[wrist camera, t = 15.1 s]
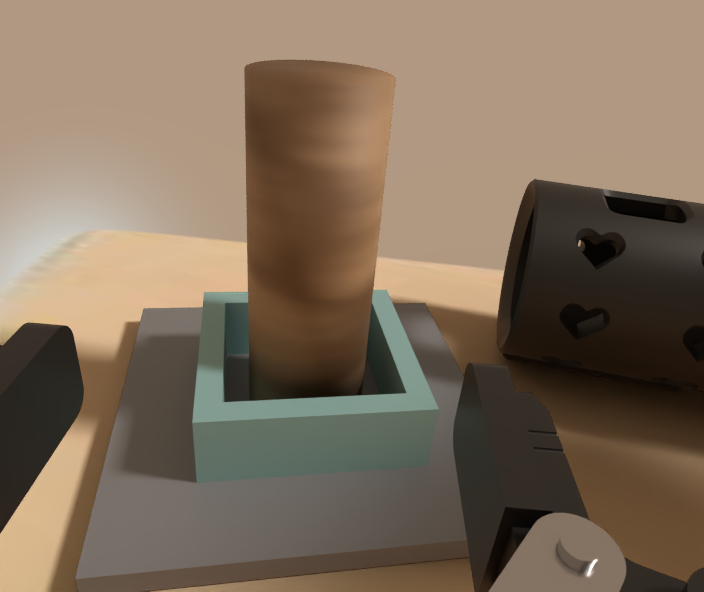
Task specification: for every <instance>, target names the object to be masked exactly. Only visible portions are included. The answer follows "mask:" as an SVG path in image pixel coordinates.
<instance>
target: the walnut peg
mask: <svg viewBox="0 0 704 592" xmlns="http://www.w3.org/2000/svg"><path fill="white" fill-rule="evenodd" d="M395 82H396V78H395V77H394V76H393V75H391V74H389V73H387V72H384V71H381V70H377V69H373V68H369V67H364V66H358V65H352V64H345V63H337V62H327V61H313V60H271V61H261V62H255V63H252V64H249V65H247V66H245V130H246V190H247V191H246V194H247V258H248V322H249V387H250V401H259V400H279V399H299V398H320V397H340V396H360V395H362V388H363V379H364V370H365V360H366V351H367V342H368V333H369V323H370V314H371V305H372V295H373V286H374V277H375V268H376V258H377V249H378V240H379V230H380V221H381V212H382V203H383V202H382V201H383V193H384V184H385V175H386V165H387V156H388V147H389V138H390V128H391V119H392V109H393V100H394V91H395Z"/></svg>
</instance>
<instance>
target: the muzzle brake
mask: <svg viewBox="0 0 704 592" xmlns="http://www.w3.org/2000/svg"><path fill="white" fill-rule="evenodd" d="M579 240H581V245H580V247H578V242H579ZM497 346H498V349H499V350H500V351H501V353H503V356H504V357H505V358H508V359H513V360H518V361H523V362H529V363H534V364H539V365H544V366H550V367H555V368H560V369H565V370H571V371H576V372H581V373H586V374H591V375H597V376H602V377H607V378H612V379H618V380H623V381H628V382H633V383H639V384H644V385H649V386H654V387H659V388H665V389H670V390H675V391H679V390H680V389H682V388H687V389H692V390H697V391H702V392H704V204H701V203H694V202H687V201H680V200H673V199H666V198H659V197H652V196H645V195H638V194H632V193H625V192H618V191H611V190H604V189H598V188H591V187H584V186H577V185H570V184H563V183H556V182H549V181H543V180H536V179H534V180H533V181H532V182H530V183H529V185H528V187H527V189H526V191H525V193H524V196H523V198H522V201H521V205H520V208H519V211H518V215H517V218H516V222H515V226H514V230H513V234H512V238H511V242H510V246H509V251H508V256H507V261H506V266H505V271H504V277H503V283H502V288H501V295H500V302H499V310H498V320H497Z"/></svg>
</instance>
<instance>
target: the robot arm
mask: <svg viewBox="0 0 704 592" xmlns="http://www.w3.org/2000/svg"><path fill="white" fill-rule="evenodd" d="M83 394H84V388H83V382H82V377H81V371H80V366H79V361H78V356H77V351H76V346H75V341H74V336H73V333H72V331H71V329H70V328H69V327H68V326H63V325H51V324H40V323H26V324H24V325H23V326H21V327H20V328H19V329H18V330H17V331H16V332H15V334H14V335H13V336H12V337H11V338H10V339H9V340H8V341H7V342H6V343H5V344H4V345H3V346H2V345H0V533H1V532H2V530H3V529H4V527H5V526H6V524H7V523H8V521H9V520H10V518H11V517H12V515H13V513H14V512H15V510H16V509H17V507H18V506H19V504H20V503H21V501H22V500H23V498H24V497H25V495H26V494H27V492H28V491H29V489H30V488H31V486H32V485H33V483H34V482H35V480H36V478H37V477H38V475H39V474H40V472H41V471H42V469H43V468H44V466H45V465H46V463H47V462H48V460H49V459H50V457H51V456H52V454H53V453H54V451H55V450H56V448H57V447H58V445H59V443H60V442H61V440H62V439H63V437H64V436H65V434H66V433H67V431H68V430H69V428H70V427H71V425H72V424H73V422H74V421H75V419H76V418H77V416H78V414H79V412H80V409H81V406H82V401H83ZM556 434H557V432H556V429H555V426H554V424H553V421H552V418H551V416H550V413H549V411H548V410H547V409H546V408H545V407H544V406H543V405H542V404H541V403H540V401H539V400H538V399H537V398H536V397H535V396H534V395H533V394H532V393H524V392H516V391H515V387H514V384H513V381H512V378H511V375H510V372H509V369H508V367H507V366H504V365H493V364H482V363H469V364H468V365H467V368H466V371H465V375H464V380H463V384H462V389H461V393H460V398H459V402H458V407H457V411H456V416H455V420H454V428H453V451H454V458H455V464H456V471H457V477H458V484H459V491H460V497H461V504H462V511H463V517H464V524H465V530H466V537H467V544H468V550H469V557H470V563H471V570H472V577H473V583H474V590H475V592H704V568H701V569H698V570H697V571H695V572H694V573H693V574H692V575H691V577H690V578H689V580H688V581H687V582H684V581H681V580H679V579H676V578H673V577H670V576H668V575H665V574H662V573H660V572H657V571H654V570H651V569H649V568H646V567H643V566H641V565H639V564H636V563H634V562H632V561H630V560H628V559H627V558H625V557H624V556H623V553H622V551H621V550H620V548H619V546H618V545H617V543H616V542H615V541H614V539H613V538H612V537H611V536H610V535H609V534H608V533H607V532H606V531H604V530H603V529H602V528H601V527H599V526H598V525H596V524H595V523H593V522H591V521H590V520H589V517H588V515H587V512H586V509H585V507H584V504H583V501H582V499H581V496H580V493H579V491H578V488H577V485H576V483H575V480H574V477H573V475H572V472H571V469H570V467H569V464H568V461H567V459H566V456H565V454H563V448H562V445H561V442H560V440H559V437H557V435H556Z"/></svg>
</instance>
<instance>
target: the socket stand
mask: <svg viewBox="0 0 704 592" xmlns="http://www.w3.org/2000/svg"><path fill="white" fill-rule="evenodd" d="M463 380H464V376H463V374H462V372H461V370H460V368H459V366H458V364H457V362H456V361H455V359H454V357H453V355H452V353H451V351H450V349H449V347H448V345H447V344H446V342H445V340H444V338H443V336H442V334H441V332H440V330H439V328H438V327H437V325H436V323H435V321H434V319H433V317H432V315H431V313H430V311H429V310H428V308H427V306H426V304H425V303H408V304H393V303H392V301H391V299H390V296H389V294H388V292H387V290H373V295H372V305H371V314H370V323H369V333H368V342H367V351H366V360H365V370H364V379H363V388H362V395H360V396H340V397H320V398H299V399H279V400H259V401H250V387H249V322H248V292H204V300H203V307H199V308H147V309H143V313H142V317H141V321H140V324H139V328H138V332H137V336H136V340H135V344H134V348H133V352H132V356H131V360H130V364H129V368H128V372H127V376H126V379H125V383H124V387H123V391H122V395H121V399H120V403H119V407H118V411H117V415H116V419H115V423H114V427H113V431H112V434H111V438H110V442H109V446H108V450H107V454H106V458H105V462H104V466H103V470H102V474H101V478H100V482H99V486H98V489H97V493H96V497H95V501H94V505H93V509H92V513H91V517H90V521H89V525H88V529H87V533H86V537H85V541H84V544H83V548H82V552H81V556H80V560H79V564H78V568H77V572H76V576H75V582H76V586H77V590H78V592H144V591H154V590H163V589H172V588H182V587H191V586H201V585H210V584H220V583H229V582H238V581H248V580H257V579H267V578H276V577H286V576H295V575H304V574H314V573H323V572H333V571H342V570H352V569H361V568H370V567H380V566H389V565H399V564H408V563H418V562H427V561H436V560H446V559H455V558H465V557H469V550H468V544H467V537H466V530H465V524H464V517H463V511H462V504H461V497H460V491H459V484H458V477H457V471H456V464H455V458H454V451H453V428H454V420H455V416H456V411H457V407H458V402H459V398H460V393H461V389H462V384H463Z"/></svg>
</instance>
